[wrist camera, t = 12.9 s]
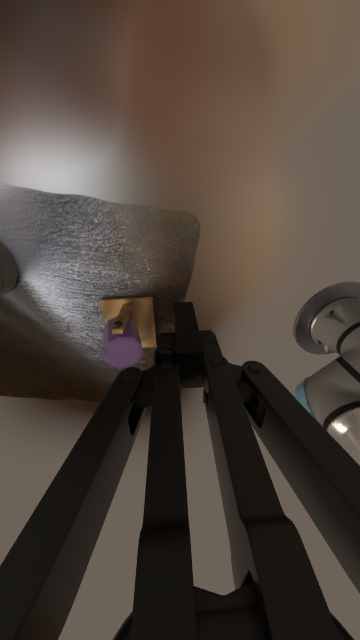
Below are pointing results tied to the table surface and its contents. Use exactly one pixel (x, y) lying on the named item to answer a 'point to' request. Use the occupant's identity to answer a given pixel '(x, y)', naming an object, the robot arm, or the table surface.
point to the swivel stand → (132, 317)
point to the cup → (122, 345)
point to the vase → (7, 271)
